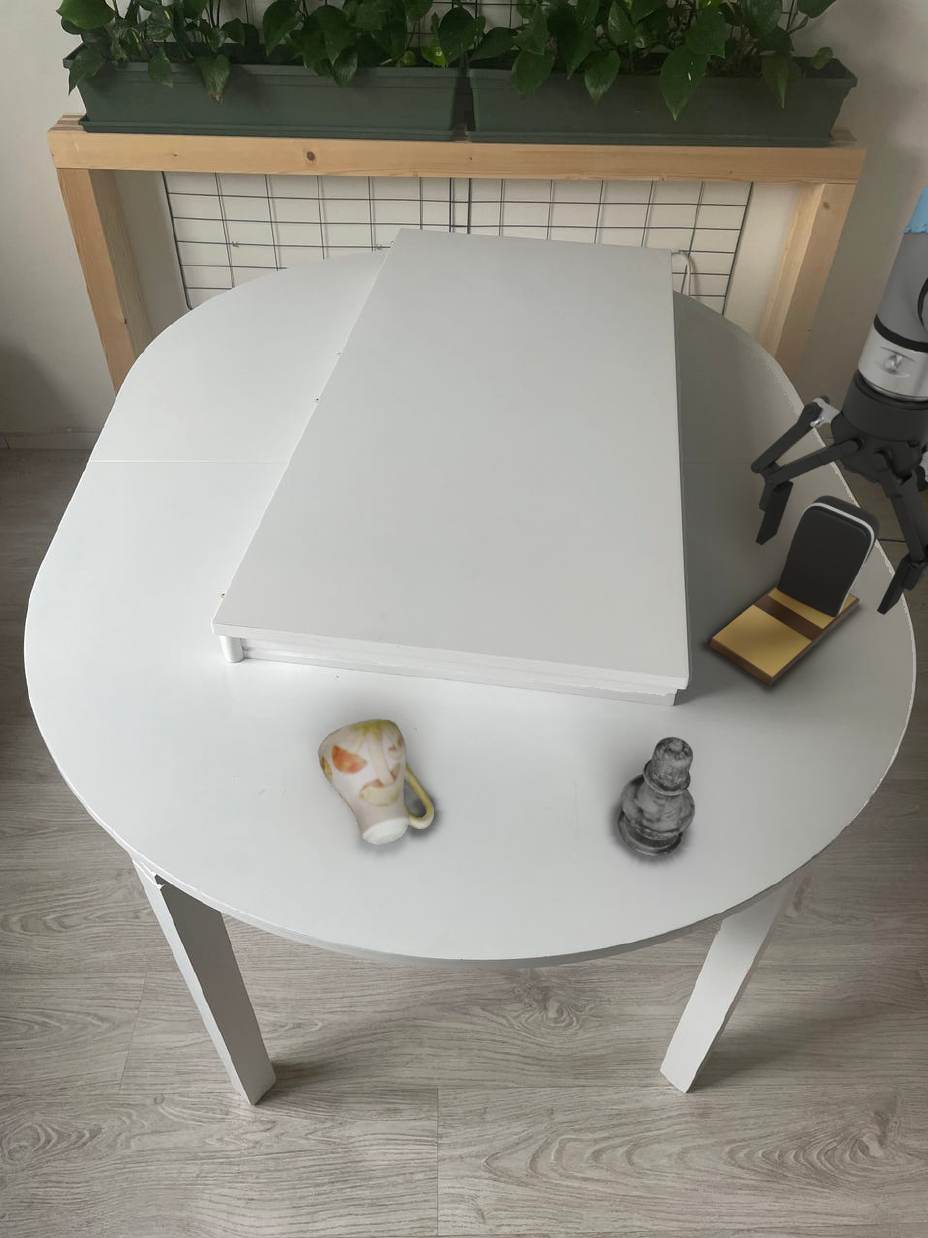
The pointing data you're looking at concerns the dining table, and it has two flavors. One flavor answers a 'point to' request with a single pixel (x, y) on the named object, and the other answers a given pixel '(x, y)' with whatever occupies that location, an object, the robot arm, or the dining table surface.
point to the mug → (373, 778)
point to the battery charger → (828, 553)
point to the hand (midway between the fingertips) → (824, 571)
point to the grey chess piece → (659, 800)
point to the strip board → (775, 634)
